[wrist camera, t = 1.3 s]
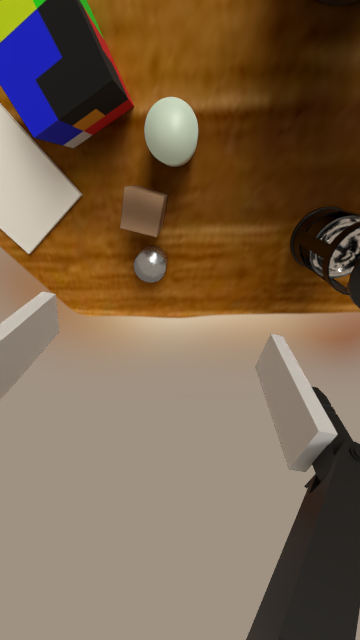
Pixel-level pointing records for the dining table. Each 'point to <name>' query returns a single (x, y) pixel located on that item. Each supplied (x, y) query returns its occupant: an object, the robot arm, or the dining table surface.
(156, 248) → the grey tin
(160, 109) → the pale green egg
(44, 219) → the plate
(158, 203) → the walnut block
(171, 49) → the dining table surface
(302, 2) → the dining table surface
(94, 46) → the puzzle toy
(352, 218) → the french press
